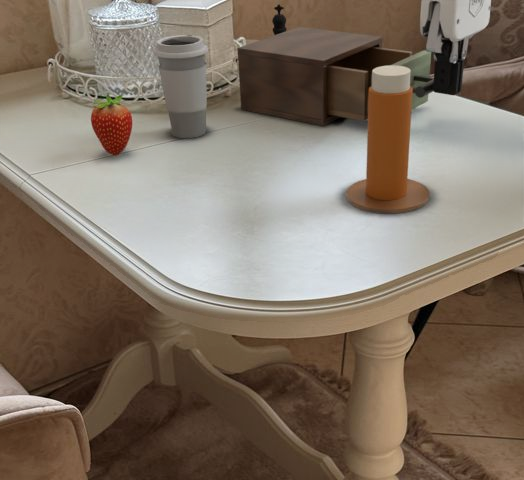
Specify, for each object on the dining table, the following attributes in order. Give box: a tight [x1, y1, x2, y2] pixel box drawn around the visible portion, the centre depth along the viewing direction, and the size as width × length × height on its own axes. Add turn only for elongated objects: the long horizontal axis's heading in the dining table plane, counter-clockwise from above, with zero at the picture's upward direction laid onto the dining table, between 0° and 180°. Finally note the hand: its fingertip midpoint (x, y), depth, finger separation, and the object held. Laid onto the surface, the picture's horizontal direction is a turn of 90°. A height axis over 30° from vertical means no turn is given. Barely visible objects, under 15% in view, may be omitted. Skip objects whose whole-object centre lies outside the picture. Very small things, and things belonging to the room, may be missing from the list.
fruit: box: [90, 91, 133, 157], centre depth 100 cm, size 5×5×8 cm
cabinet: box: [236, 26, 383, 127], centre depth 113 cm, size 15×15×9 cm
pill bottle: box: [365, 65, 413, 200], centre depth 83 cm, size 4×4×13 cm
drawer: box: [326, 47, 434, 122], centre depth 107 cm, size 18×13×7 cm
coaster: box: [345, 178, 431, 214], centre depth 87 cm, size 9×9×1 cm
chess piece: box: [271, 4, 288, 36], centre depth 130 cm, size 4×4×10 cm
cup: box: [153, 34, 209, 139], centre depth 104 cm, size 7×7×12 cm
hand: (446, 91), depth 101 cm, fingers closed
